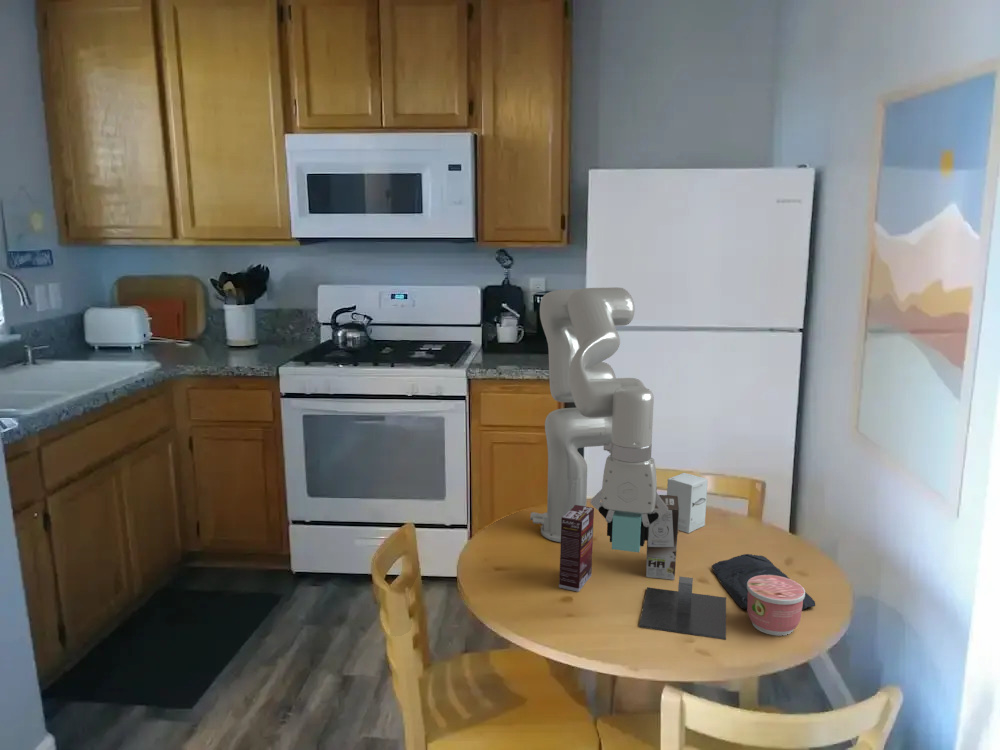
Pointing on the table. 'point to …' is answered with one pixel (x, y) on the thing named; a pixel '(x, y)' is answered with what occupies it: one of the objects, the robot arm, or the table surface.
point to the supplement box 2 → (689, 500)
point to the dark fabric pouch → (747, 576)
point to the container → (774, 604)
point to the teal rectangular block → (626, 531)
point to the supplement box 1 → (576, 548)
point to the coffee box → (663, 541)
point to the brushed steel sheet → (684, 611)
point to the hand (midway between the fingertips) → (627, 540)
